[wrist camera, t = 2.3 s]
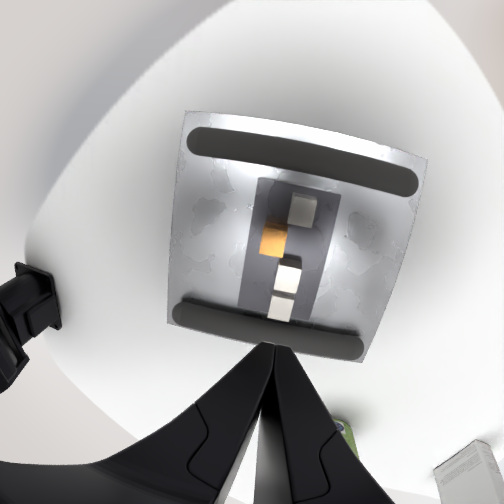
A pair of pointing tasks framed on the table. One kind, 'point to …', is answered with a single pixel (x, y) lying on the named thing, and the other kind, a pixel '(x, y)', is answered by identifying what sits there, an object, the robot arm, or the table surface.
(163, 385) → the table surface
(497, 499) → the skincare box
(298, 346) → the dark grey rounded rod
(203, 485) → the robot arm
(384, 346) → the table surface
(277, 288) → the breaker panel
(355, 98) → the table surface
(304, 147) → the dark grey rounded bar
